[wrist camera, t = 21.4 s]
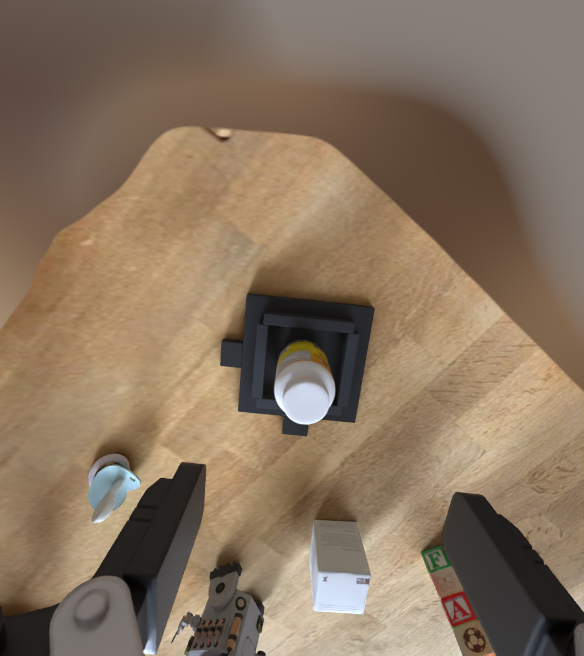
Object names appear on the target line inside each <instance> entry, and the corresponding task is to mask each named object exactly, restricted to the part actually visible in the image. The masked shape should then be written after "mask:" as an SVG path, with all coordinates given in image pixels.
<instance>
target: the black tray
mask: <svg viewBox="0 0 584 656" xmlns="http://www.w3.org/2000/svg"><path fill="white" fill-rule="evenodd" d="M374 309H375V308H374V307H372V306H362V305H353V304H343V303H334V302H325V301H315V300H306V299H297V298H287V297H278V296H268V295H259V294H250V293H248V294H247V297H246V311H245V324H244V338H243V341H241V340H231V339H223V340H222V345H221V363H220V366H227V367H237V368H241V378H240V392H239V405H238V412H249V413H259V414H269V415H280V416H284V420H283V429H282V434H289V435H299V436H307V432H308V424H299V423H296V422H294V421H293V420H291V419H290V418H289V417H288V416H287V415H286V413H285V412H284V411H283V410H282V409H281V408H280V407H279V405H278V403H277V401H276V398H275V394H274V385H275V377H276V370H277V363H278V358H279V355H280V353H281V351H282V350H283V349H284V347H286V346H287V345H288V344H290V343H292V342H294V341H298V340H307V341H311V342H313V343H315V344H317V345H318V346H319V347H320V348H321V349H322V350H323V352H324V353H325V355H326V358H327V361H328V364H329V367H330V370H331V373H332V376H333V379H334V383H335V397H334V400H333V402H332V404H331V406H330V407H329V409H328V412H327V413H326V415H325V416H324V417H323V418H322V419H321V420H331V421H341V422H352V423H355V420H356V414H357V408H358V402H359V396H360V390H361V385H362V379H363V373H364V367H365V361H366V355H367V350H368V344H369V338H370V332H371V326H372V320H373V315H374Z"/></svg>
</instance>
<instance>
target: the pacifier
mask: <svg viewBox="0 0 584 656" xmlns="http://www.w3.org/2000/svg"><path fill="white" fill-rule="evenodd" d="M113 461H114V462H118V463H120V464H121V465H122V466H120V465H109V466H107V467H105V468H103V469H102V470H101V471H100V472H99V473H98V474H97V472H98V470H99V468H100V467H101V466H102V465H103V464H105V463H108V462H113ZM132 477H133V478H134V479H135V480H133V479H132ZM88 480H89V484H90V488H89V492H88V498H89V501H90V504H91V506H92V508H93V509H94V510H95V511H94V513H93V516H92V522H94V523H98V522H101V521H103V520H105V519H106V518H107V517H108V516H109V515H110V513H111V512H112V511H113V510H115V509H117V508H118V507H119V506H120V505H121V504H122V503H123V502H124V500H125V498H126V495H127V491H129V490H135V489H137V488H138V487H139V486H140V484H141V480H140V479H139V477H138V476H137V475H136V474H134V473H133V472H132V471H131V470H130V465H129V462H128V460H127V459H126V457H124V456H123V455H121V454H109V455H106V456H104V457H102V458H100V459H99V460H98V461H96V462H95V463H94V465H93V466H92V467H91V470H90V472H89V476H88Z"/></svg>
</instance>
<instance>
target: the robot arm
mask: <svg viewBox="0 0 584 656" xmlns="http://www.w3.org/2000/svg"><path fill="white" fill-rule="evenodd" d="M205 481H206V465H205V464H196V463H187V462H182V463H181V464H180V465H179V467H178V469H177V471H176V473H175V475H174V477H173V479H167V478H160V479H159V480H158V481H156V482H155V483H154V484H153V485H151V486H150V487H149V488H148V489H147V490H146V491H145V493H144V494H143V496H142V498H141V499H140V501H139V503H138V504H137V507H136V508H135V509H134V511H133V512H132V514H131V516H130V518H129V521H127V522H126V524H125V526H124V527H123V529H122V531H121V532H120V534H119V535H118V537H117V539H116V540H115V542H114V544H113V545H112V547H111V549H110V550H109V552H108V553H107V555H106V557H105V558H104V560H103V562H102V563H101V565H100V567H99V568H98V570H97V572H96V573H95V574H94V576H93V577H92V578H91V579H90V580H88V581H86V582H84V583H82V584H81V585H79V586H78V587H76V588H75V589H74V590H72V591H71V592H70V593H69V594H68V595H67V596H66V597H65V598H64V599H63V600H62V602H60V603H58V604H56V605H53V606H50V607H47V608H43V609H39V610H35V611H31V612H26V613H22V614H18V615H14V616H9V617H5V618H4V613H3V610H2V608H1V606H0V656H145V654H155V655H156V653H157V650H158V647H159V645H160V642H161V639H162V636H163V633H164V630H165V627H166V624H167V621H168V618H169V615H170V612H171V609H172V606H173V603H174V600H175V598H176V595H177V592H178V589H179V586H180V583H181V580H182V577H183V574H184V571H185V568H186V565H187V562H188V559H189V556H190V554H191V551H192V548H193V545H194V542H195V539H196V536H197V533H198V530H199V527H200V524H201V520H202V515H203V510H204V499H205ZM442 537H443V545H444V549H445V552H446V554H447V556H448V558H449V560H450V562H451V564H452V566H453V568H454V571H455V573H456V575H457V577H458V579H459V581H460V583H461V585H462V587H463V589H464V591H465V593H466V595H467V597H468V599H469V601H470V603H471V605H472V608H473V610H474V612H475V614H476V616H477V618H478V620H479V622H480V624H481V626H482V628H483V630H484V632H485V634H486V636H487V638H488V640H489V642H490V645H491V647H492V649H493V651H494V653H495V655H496V656H584V612H583V611H582V610H581V608H580V607H579V606H578V604H577V603H576V602H575V601H574V599H573V598H572V597H571V596H570V594H569V593H568V592H567V590H566V589H565V588H564V587H563V585H562V584H561V583H560V581H559V580H558V579H557V578H556V576H555V575H554V574H553V573H552V571H551V570H550V569H549V567H548V566H547V565H544V562H543V560H542V558H541V557H540V556H539V555H538V553H537V552H536V551H535V550H533V549H532V546H531V544H530V543H529V542H528V541H527V539H526V538H525V537H524V535H523V534H522V533H521V532H520V530H519V529H518V528H516V527H515V526H514V525H513V524H512V523H511V522H509V521H508V520H507V519H506V518H505V517H503V516H502V515H501V514H497V513H496V511H495V510H494V509H493V507H492V506H491V505H490V503H489V502H488V501H487V499H486V498H485V497H484V496H483V495H480V494H472V493H462V492H456V493H454V495H453V497H452V500H451V504H450V507H449V510H448V514H447V517H446V521H445V524H444V528H443V535H442Z"/></svg>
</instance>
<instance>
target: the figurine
mask: <svg viewBox="0 0 584 656" xmlns="http://www.w3.org/2000/svg"><path fill="white" fill-rule="evenodd" d="M241 572H242V567H241V565H240V564H239V563H236V562H234V563H233V564H232V565H231V564H228V565H227V567H224V568H223V567H220V568H219V569H218V570H217V568H215V569H214V570H213V571H212V572H210V586H209V599H208V601H207V604H206V606H205V609H204V612H203V614H202V617H200V616H199V615H195V616H194V617H193V614H192V613H190V612H188V613H187V615H186V617H185V615H184V616H183V618H182V620H181V622H180V624H179V627H178V630H177V632H176V634H175V636H176V635H177V633H178V634H179V632H180V630H181V629H182V630H183V629H184V627H185V626H186V627H188V624H190V626H191V628H192V629H193V631H194V632H195V633H194V635H195V636H191V638H190V640H189V642H188V645H187V648H186V650H185V653H184V654H185V655H187V656H266V654H265V652H263V651H258V652H257V654H256V653H255V652H256V647H257V643H258V638H259V634H260V633H261V632H262V626H263V623H264V618H263V613H264V606H263V604H262V602H259V601H256V602H254V600H253V598H252V596H250V595H248V594H246V593H244V592H242V591H240V590H238V589H236V587H237V583H238V579H239V577H240V575H241ZM175 636H174V638H175ZM174 638H173V640H174ZM173 640H172V642H173ZM172 642H171V643H172Z"/></svg>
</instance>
